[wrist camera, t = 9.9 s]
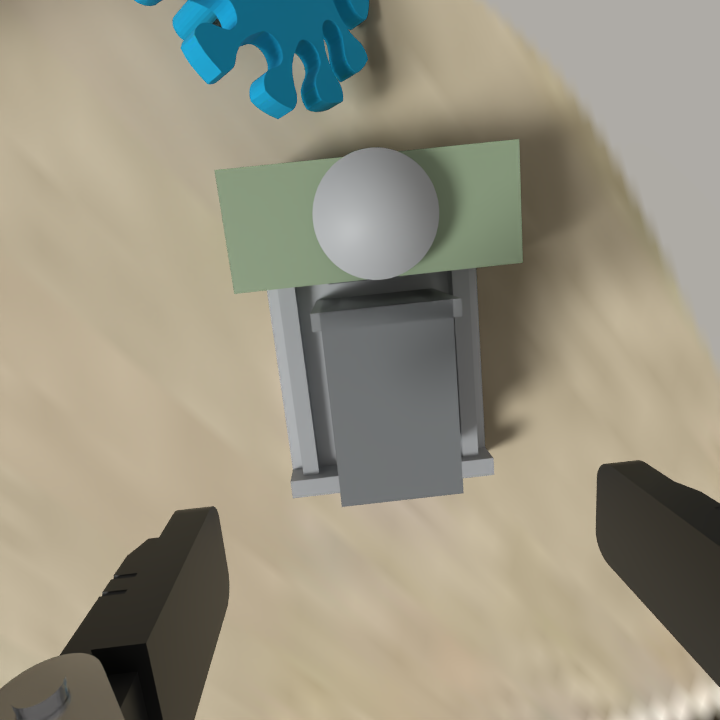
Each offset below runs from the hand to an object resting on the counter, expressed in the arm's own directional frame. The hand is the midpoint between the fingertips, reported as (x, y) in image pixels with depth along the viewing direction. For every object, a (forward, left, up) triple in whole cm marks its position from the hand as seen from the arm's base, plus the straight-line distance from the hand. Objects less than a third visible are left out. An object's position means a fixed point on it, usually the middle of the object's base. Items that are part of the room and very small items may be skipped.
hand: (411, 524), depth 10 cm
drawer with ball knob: (0, +2, -13) cm, 13 cm away
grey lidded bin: (0, 0, -12) cm, 12 cm away
